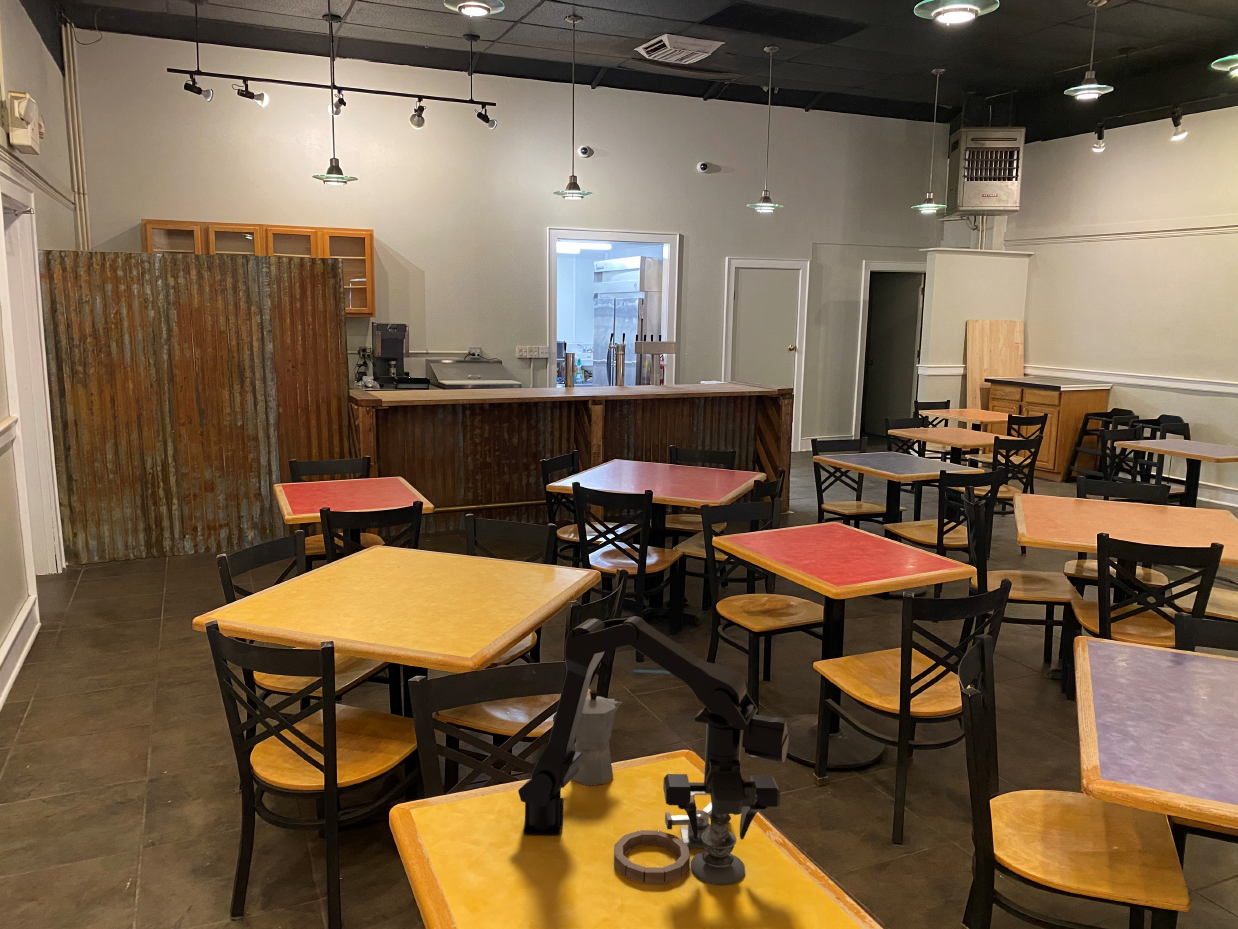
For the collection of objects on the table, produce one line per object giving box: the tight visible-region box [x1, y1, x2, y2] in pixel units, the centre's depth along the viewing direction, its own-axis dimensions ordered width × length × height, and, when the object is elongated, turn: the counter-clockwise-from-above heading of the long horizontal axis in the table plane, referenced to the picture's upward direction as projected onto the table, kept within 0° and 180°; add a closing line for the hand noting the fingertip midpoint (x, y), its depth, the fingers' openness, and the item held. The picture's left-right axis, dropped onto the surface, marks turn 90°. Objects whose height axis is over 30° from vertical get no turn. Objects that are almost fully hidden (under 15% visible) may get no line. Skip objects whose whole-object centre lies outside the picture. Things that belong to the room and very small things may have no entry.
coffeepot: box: [552, 689, 623, 786], centre depth 175 cm, size 15×9×18 cm, turn 119°
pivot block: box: [679, 823, 711, 850], centre depth 154 cm, size 6×6×2 cm
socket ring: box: [613, 829, 691, 885], centre depth 147 cm, size 13×13×2 cm
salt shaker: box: [701, 810, 738, 867], centre depth 144 cm, size 6×6×12 cm
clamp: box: [664, 801, 712, 830], centre depth 157 cm, size 7×16×4 cm, turn 149°
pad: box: [690, 850, 746, 886], centre depth 145 cm, size 9×9×1 cm
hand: (718, 838), depth 145 cm, fingers closed on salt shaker, 7 cm apart
